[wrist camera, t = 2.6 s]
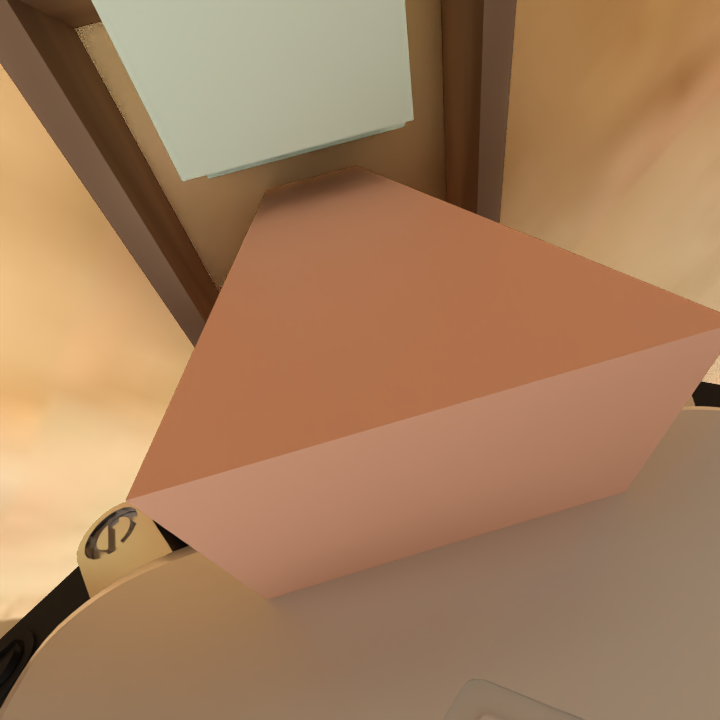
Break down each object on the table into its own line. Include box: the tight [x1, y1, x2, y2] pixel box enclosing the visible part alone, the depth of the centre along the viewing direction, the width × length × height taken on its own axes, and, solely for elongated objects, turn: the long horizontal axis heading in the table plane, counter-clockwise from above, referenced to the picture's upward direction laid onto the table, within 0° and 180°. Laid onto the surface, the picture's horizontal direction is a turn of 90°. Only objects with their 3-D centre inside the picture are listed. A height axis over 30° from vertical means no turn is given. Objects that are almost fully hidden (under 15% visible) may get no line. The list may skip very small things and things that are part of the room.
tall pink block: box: [126, 166, 720, 600], centre depth 10 cm, size 4×10×14 cm, turn 12°
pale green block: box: [91, 0, 414, 182], centre depth 9 cm, size 7×4×6 cm, turn 102°
